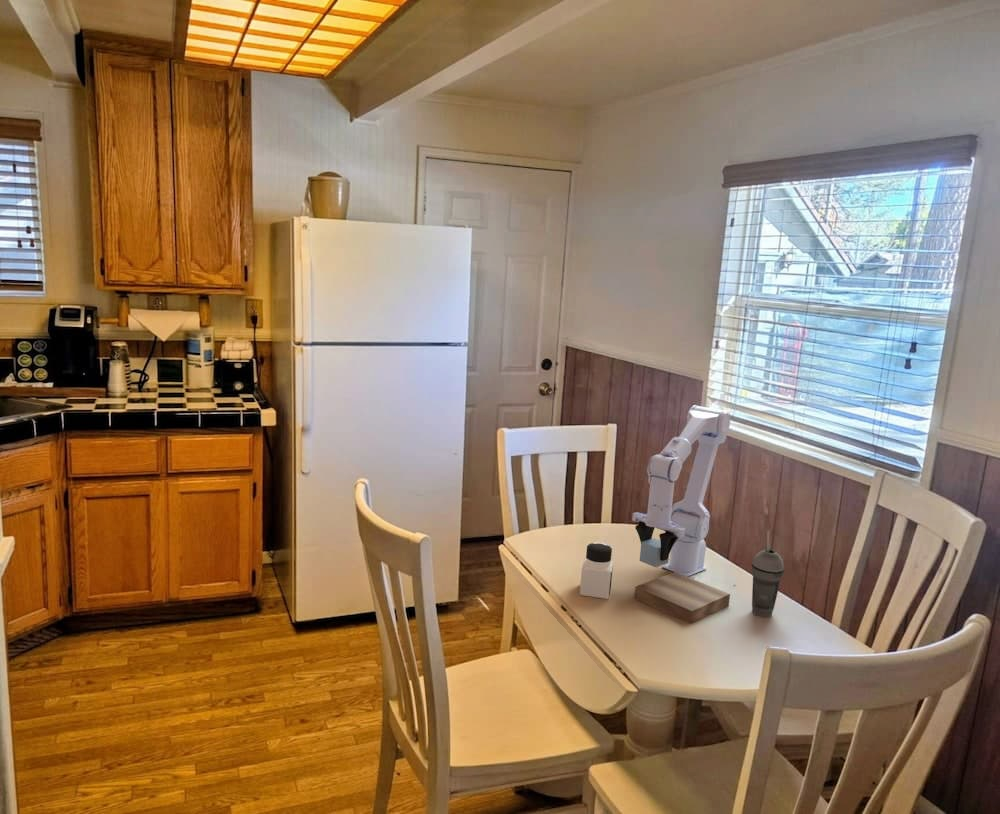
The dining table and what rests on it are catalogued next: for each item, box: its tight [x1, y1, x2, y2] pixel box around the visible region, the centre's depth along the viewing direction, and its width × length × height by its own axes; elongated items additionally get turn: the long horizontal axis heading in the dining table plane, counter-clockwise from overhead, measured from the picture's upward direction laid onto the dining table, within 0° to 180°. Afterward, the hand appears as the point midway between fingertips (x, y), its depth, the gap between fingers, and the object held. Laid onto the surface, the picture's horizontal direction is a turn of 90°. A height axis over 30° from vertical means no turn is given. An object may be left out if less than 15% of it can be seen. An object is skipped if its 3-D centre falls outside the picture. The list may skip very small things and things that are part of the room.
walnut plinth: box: [634, 571, 731, 624], centre depth 183 cm, size 16×16×3 cm
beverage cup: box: [751, 530, 785, 619], centre depth 178 cm, size 7×7×20 cm
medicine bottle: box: [579, 541, 614, 600], centre depth 185 cm, size 7×7×12 cm
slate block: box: [639, 537, 670, 568], centre depth 188 cm, size 5×5×5 cm
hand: (654, 556), depth 189 cm, fingers closed on slate block, 5 cm apart
